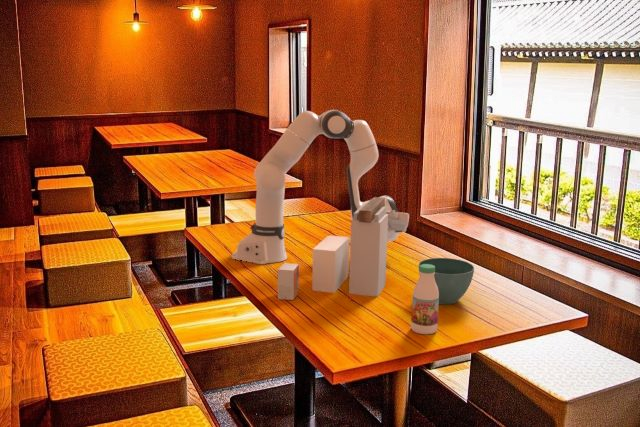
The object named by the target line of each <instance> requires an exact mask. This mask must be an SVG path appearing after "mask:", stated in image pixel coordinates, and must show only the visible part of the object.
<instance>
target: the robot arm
mask: <svg viewBox="0 0 640 427" xmlns="http://www.w3.org/2000/svg"><path fill="white" fill-rule="evenodd" d="M319 135H323V136H325V137H327V138H329V139H337V140H338V139H339V140H340V139H344V141H345V142H346V145H347V147H348V151H349V155H350V161H349V164H348V165H347V167H346V179H347V186H348V194H349V195H348V196H349V201H350V217H351V220H352V219H353V218H354V212H356V211H357V210H358V209H359V208H360V207H361V206H362V205H366V204H367V203H368V202H369V201H370V200H371V199H369V200H365V201H361V200H360V199H361V198H360V191H359V190H360V189H359V180H360V179H361V178H362V176H363V175H364V174H366V173H367V172H368V171H370V170H371V169H373V167H374V166H375V165H376V164H377V162H378V160H379V156H380V155H379V149H378V146H377V141H376V139H375V136H374V134H373V130H371V128H370V126H369V123H367V121H366V120H363V119H355V120H352V119H351V118H350V117H349V116H348V115H347V114H346V113H344V112H343V111H340V110H339V109H329V110H326V111H324V112H322V113H320V114H316V113H315V112H313V111H310V110H304V111H302V112H301V113H299V114H298V115H297V116H296V117H295V119H294V120H292V122H291V123H290V124H289V125H288V126H287V128H286V129H285V131H284V132H283V133H282V135H281V136H280V138H279V139H278V140H277V142H276V143H275V145H273V146H272V148H271V149H270V150H269V151H268V152H267V153H266V154H265V156H264V157H263V158H262V159H261V161H260V162H258V163H257V165H256V166H255V169H254V173H253V176H254V180H255V182H256V196H255V198H256V199H255V222H254V223H253V224H251V226H249V230H250V233H248V234H247V235H246V236H245V237H243V239H241V240H240V241H239V242H238V244H237V249H236V250H235V251H234V252H232V254H231V255H230V256H231V257H230V258H231V260H235V259H236V261H240V260H242V262H246V261H247V263H252V262H253V263H252V264H258V265H266V264H272V263H279V262H283V261H285V260H287V259H288V254H287V253H286V247H285V240H284V239H285V224H284V201H285V191H286V174H287V173H288V171H289V170H290V169H292V167H293V166H294V165H295V164H296V163H298V162H299V160H300V159H301V158H302V157H303V155H304V154H305V152H306V151H307V149H308V148H309V147H310V145H312V142H313V141H314V140H315V139H316V138H317V137H318V136H319ZM379 197H380V198H385V206H384V207H386V214H388V232H387V243H389V242H390V243H391V242H393V241H395V240H397V239H398V238H399V236H400V233H405V232H407V228H408V227H409V220H410V214H409V213H407V212H400V211H398V208H397V206H396V202H395V200H394V199H393V198H392V197H391V196H389V195H387V194H386V195H381V196H379Z"/></svg>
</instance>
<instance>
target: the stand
mask: <svg viewBox="0 0 640 427" xmlns="http://www.w3.org/2000/svg"><path fill="white" fill-rule="evenodd" d="M363 206H364V205H362V206H361V207H360V208H359V209H358V210H357V211H356V212H354V218H353V219H352V218H351V219H350V242H349V284H348V285H349V286H348V288H349V290H348V291H349V295H357V296H358V295H359V296H369V297H376V298H378V297H379V296H380V294H381V292H382V291H383V289H384V287H385V286H386V279H387V275H386V274H387V253H388V241H387V232H388V214H386V207H382V208H381V209H380V210H379V211H378V212H377V213H376V214H375V219H374V220H373V221H372V222H371V223H365V222H359V210H360V209H361V208H362V207H363Z"/></svg>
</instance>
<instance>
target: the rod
mask: <svg viewBox="0 0 640 427" xmlns="http://www.w3.org/2000/svg"><path fill="white" fill-rule="evenodd" d="M380 197H381V196H379V197H377V196H374V197H373V198H371V199H369V200H370V201H369V200H368V201H369V202H368V203H367V204H366V205H364V206H363V207H362V208H361V209H360V210H359V222H365V223H371V222H372V221H373V220H374V219H375V214H376V213H377V212H378V211H379V210H380V209H381V208H382V207H384V206H385V198H380Z"/></svg>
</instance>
